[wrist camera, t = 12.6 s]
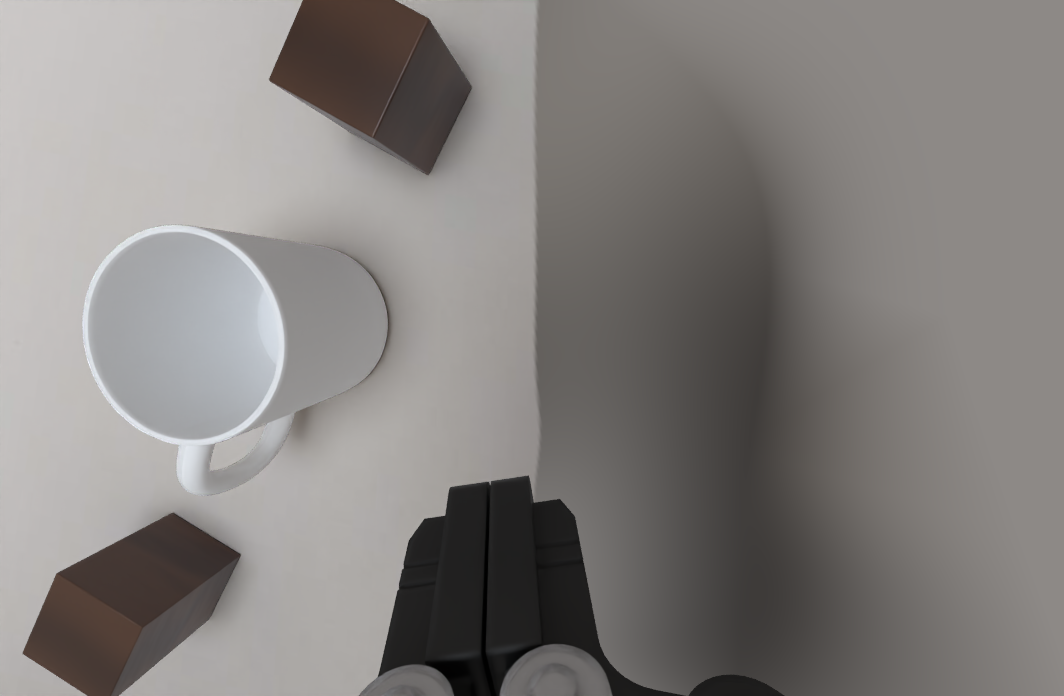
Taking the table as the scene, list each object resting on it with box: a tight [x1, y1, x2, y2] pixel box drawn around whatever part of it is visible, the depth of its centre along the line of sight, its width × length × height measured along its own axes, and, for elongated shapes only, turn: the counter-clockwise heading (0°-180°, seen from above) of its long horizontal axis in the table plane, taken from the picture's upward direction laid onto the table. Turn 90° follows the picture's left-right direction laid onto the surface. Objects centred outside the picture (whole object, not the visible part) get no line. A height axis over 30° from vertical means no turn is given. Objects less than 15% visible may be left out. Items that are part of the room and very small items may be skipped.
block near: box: [269, 0, 472, 175], centre depth 24 cm, size 5×5×7 cm
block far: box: [23, 513, 240, 696], centre depth 29 cm, size 5×5×7 cm
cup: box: [82, 225, 388, 496], centre depth 25 cm, size 8×12×10 cm
